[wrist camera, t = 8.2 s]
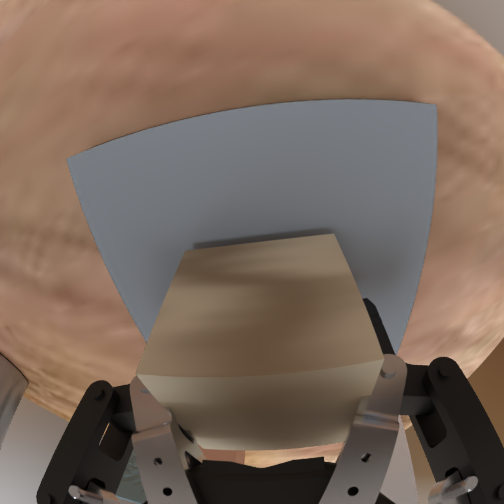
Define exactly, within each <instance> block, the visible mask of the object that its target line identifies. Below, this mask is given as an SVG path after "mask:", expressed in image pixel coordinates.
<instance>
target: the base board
mask: <svg viewBox="0 0 504 504" xmlns="http://www.w3.org/2000/svg"><path fill="white" fill-rule="evenodd" d="M66 160H67V163H68V167H69V170H70V173H71V177H72V180H73V183H74V186H75V189H76V192H77V195H78V198H79V201H80V204H81V207H82V209H83V212H84V215H85V217H86V220H87V223H88V225H89V228H90V230H91V233H92V235H93V238H94V240H95V242H96V245H97V247H98V249H99V252H100V254H101V256H102V258H103V261H104V263H105V265H106V267H107V269H108V271H109V274H110V276H111V278H112V280H113V282H114V284H115V286H116V288H117V290H118V292H119V294H120V296H121V298H122V300H123V302H124V304H125V305H126V307H127V309H128V311H129V313H130V315H131V316H132V318H133V320H134V322H135V324H136V325H137V327H138V329H139V331H140V332H141V334H142V336H143V337H144V339H145V341H146V342H148V339H149V336H150V334H151V331H152V329H153V326H154V323H155V321H156V318H157V316H158V313H159V311H160V308H161V306H162V304H163V301H164V299H165V296H166V294H167V291H168V289H169V287H170V284H171V282H172V280H173V277H174V275H175V273H176V270H177V268H178V266H179V264H180V261H181V259H182V257H183V255H184V252H185V251H187V250H195V249H204V248H212V247H220V246H229V245H237V244H246V243H254V242H263V241H271V240H280V239H289V238H298V237H307V236H316V235H325V234H334V235H335V237H336V239H337V241H338V243H339V246H340V248H341V250H342V252H343V255H344V257H345V259H346V261H347V264H348V266H349V268H350V270H351V273H352V275H353V277H354V280H355V282H356V285H357V287H358V289H359V292H360V294H361V297H362V299H364V298H368V299H369V300H370V301H371V302H372V303H373V304H374V305H376V308H377V310H378V313H379V316H380V317H381V320H382V322H383V325H384V327H385V330H386V332H387V335H388V337H389V340H390V342H391V345H392V347H393V350H394V352H395V354H396V355H397V352H398V350H399V347H400V344H401V341H402V339H403V336H404V333H405V330H406V327H407V323H408V320H409V317H410V314H411V310H412V307H413V304H414V300H415V296H416V293H417V289H418V285H419V281H420V277H421V272H422V268H423V263H424V259H425V254H426V248H427V243H428V237H429V231H430V225H431V218H432V211H433V202H434V193H435V182H436V167H437V105H434V104H428V103H420V102H412V101H400V100H383V99H323V100H305V101H292V102H282V103H272V104H264V105H256V106H249V107H243V108H236V109H230V110H225V111H219V112H214V113H209V114H204V115H199V116H195V117H190V118H186V119H182V120H178V121H174V122H170V123H166V124H162V125H159V126H155V127H152V128H148V129H145V130H142V131H138V132H135V133H132V134H129V135H126V136H123V137H120V138H117V139H114V140H111V141H108V142H106V143H103V144H100V145H97V146H95V147H92V148H90V149H87V150H85V151H83V152H80V153H78V154H76V155H74V156H71V157H69V158H67V159H66Z"/></svg>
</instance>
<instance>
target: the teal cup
mask: <svg viewBox="0 0 504 504" xmlns="http://www.w3.org/2000/svg"><path fill="white" fill-rule="evenodd" d="M115 496H116V497H119V498H122V499H124V500H128V501H131V502H134V503H139V504H143V503H144V502H145V501H147V498H146V495H145V491H144V488H143V485H142V481H141V477H140V474H139V470H138V466H137V462H136V458H135V453H134V449H133V451H132V454H131V456H130V459H129V461H128V464H127V466H126V469H125V471H124V474H123V476H122V479H121V481H120V484H119V487H118V489H117V492H116V495H115Z"/></svg>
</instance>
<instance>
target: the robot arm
mask: <svg viewBox="0 0 504 504" xmlns="http://www.w3.org/2000/svg"><path fill="white" fill-rule="evenodd" d="M363 302H364V304H365V307H366V309H367V312H368V315H369V317H370V320H371V322H372V325H373V328H374V330H375V333H376V336H377V339H378V342H379V344H380V347H381V350H382V353H383V356H384V362H383V365H382V367H381V370H380V373H379V376H378V378H377V381H376V384H375V386H374V389H373V391H372V394H371V395H367V396H362V397H361V399H360V402H359V405H358V408H357V411H356V414H355V417H354V420H353V422H352V423H351V425H350V428H349V431H348V433H347V436H346V439H345V441H344V444H343V446H342V448H341V451H340V453H339V456H338V458H337V460H336V463H331V462H324V457H317V458H308V459H298V460H291V461H288V462H285V463H281V464H278V465H274V466H270V467H266V468H256V467H252V466H248V465H243V464H239V463H235V462H232V461H215V460H206V458H205V456H204V454H203V453H202V451H201V450H200V448H199V446H198V444H197V441H196V438H195V436H194V434H193V433H192V432H191V431H190V430H184V429H183V428H182V427H181V426H180V425H179V424H178V423H177V420H176V417H175V414H174V412H173V411H172V410H171V409H170V408H169V407H166V406H161V404H160V403H159V402H158V401H157V400H156V399H155V397H154V396H153V395H152V394H151V393H150V391H149V390H148V389H147V388H146V387H145V385H144V384H143V383H142V382H141V380H140V379H139V378H138V377H137V375H136V376H135V377H134V378H133V380H132V381H131V384H127V385H122V386H117V387H112V386H111V385H110V384H109V383H108V382H107V381H104V380H100V381H96V382H94V383H92V384H91V385H90V386H89V387H88V389H87V390H86V392H85V394H84V396H83V398H82V399H81V401H80V403H79V405H78V407H77V409H76V411H75V412H74V414H73V416H72V418H71V420H70V422H69V424H68V426H67V428H66V430H65V432H64V434H63V436H62V438H61V440H60V442H59V444H58V446H57V448H56V450H55V452H54V454H53V457H52V459H51V461H50V463H49V466H48V468H47V470H46V472H45V475H44V477H43V479H42V481H41V484H40V486H39V489H38V491H37V495H36V498H37V503H38V504H120V503H119V502H118V499H117V497H116V496H115V495H116V492H117V489H118V487H119V484H120V481H121V479H122V476H123V474H124V471H125V469H126V466H127V464H128V461H129V459H130V456H131V454H132V451H133V449H134V453H135V458H136V462H137V466H138V470H139V474H140V477H141V481H142V485H143V488H144V491H145V495H146V498H147V501H145V502H144V503H143V504H395V503H394V502H393V501H391V500H390V499H389V498H387V497H386V496H385V495H384V494H382V493H381V492H380V490H381V487H382V484H383V482H384V479H385V476H386V473H387V470H388V467H389V464H390V461H391V457H392V454H393V451H394V447H395V444H396V440H397V436H398V432H399V426H400V424H399V422H398V417H399V415H409V417H410V420H411V422H412V424H413V426H414V429H415V431H416V433H417V436H418V438H419V440H420V443H421V445H422V447H423V450H424V452H425V455H426V457H427V460H428V462H429V465H430V467H431V470H432V473H433V475H434V478H435V481H436V484H435V485H434V486H433V487H432V489H431V491H430V493H429V497H428V501H429V504H504V448H503V446H502V443H501V441H500V439H499V437H498V435H497V433H496V431H495V429H494V427H493V425H492V423H491V421H490V419H489V417H488V415H487V413H486V411H485V409H484V408H483V406H482V404H481V402H480V401H479V399H478V397H477V395H476V394H475V392H474V390H473V388H472V387H471V385H470V383H469V382H468V380H467V378H466V377H465V375H464V373H463V372H462V370H461V369H460V367H459V366H458V364H457V363H456V362H455V361H454V360H452V359H451V358H448V357H439V358H436V359H434V360H433V361H432V362H431V363H430V365H429V366H427V365H411V364H407V363H405V362H404V361H403V360H402V359H401V358H400V357H398V356H396V354H395V352H394V350H393V347H392V345H391V342H390V340H389V337H388V335H387V332H386V330H385V327H384V325H383V322H382V320H381V317H380V316H379V313H378V310H377V308H376V305H374V304H373V303H372V302H371V301H370V300H369V299H368V298H364V299H363ZM27 386H28V382H27V380H26V379H25V378H24V376H23V375H22V374H21V373H20V372H19V371H18V370H17V369H16V368H15V367H14V366H13V365H12V364H11V363H10V362H9V361H8V360H7V359H5V358H4V357H3V356H2V355H1V354H0V449H1V446H2V443H3V441H4V438H5V435H6V433H7V430H8V428H9V425H10V423H11V421H12V418H13V416H14V414H15V412H16V409H17V407H18V405H19V403H20V401H21V399H22V397H23V395H24V392H25V390H26V388H27ZM108 423H110V424H109V426H108V428H107V430H106V432H105V435H104V437H103V439H102V441H101V443H100V440H101V438H102V436H103V434H104V431H105V429H106V427H107V425H108ZM99 443H100V446H99Z"/></svg>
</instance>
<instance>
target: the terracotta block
mask: <svg viewBox="0 0 504 504" xmlns="http://www.w3.org/2000/svg"><path fill="white" fill-rule="evenodd" d="M197 444H198V443H197ZM198 446H199V448H200V450H201V451H202V453H203V454H204V456H205V458H206V460H215V461H232V462H235V463H239V464H243V465H244V459H245V450H215V449H203V448H202V447H201V446H200V445H199V444H198Z"/></svg>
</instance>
